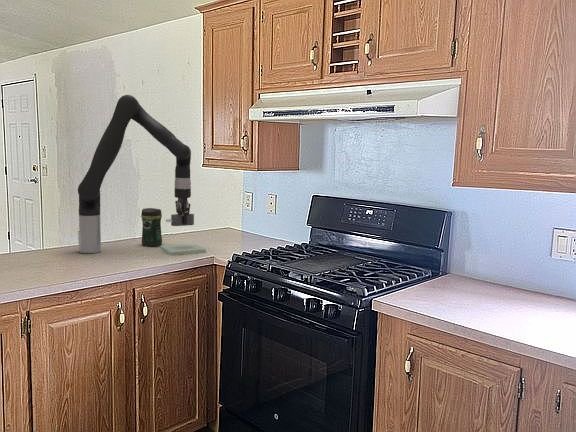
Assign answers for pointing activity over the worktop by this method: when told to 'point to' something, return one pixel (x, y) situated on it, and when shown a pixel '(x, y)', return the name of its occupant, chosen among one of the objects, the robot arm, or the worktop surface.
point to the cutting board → (182, 249)
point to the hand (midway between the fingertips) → (182, 223)
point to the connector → (180, 220)
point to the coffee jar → (151, 227)
